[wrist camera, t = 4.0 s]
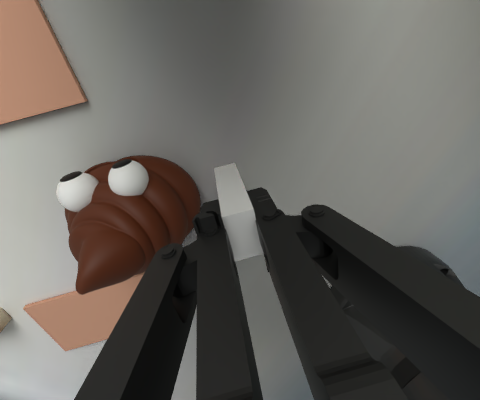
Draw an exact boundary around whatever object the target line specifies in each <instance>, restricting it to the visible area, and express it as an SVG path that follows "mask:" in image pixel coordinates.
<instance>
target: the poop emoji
mask: <svg viewBox="0 0 480 400" xmlns="http://www.w3.org/2000/svg"><path fill="white" fill-rule="evenodd" d="M56 194H57V198H58V201H59V202H60V204H61V205H62V206H63V207H64V208H65V216H66V220H67V223H68V230H69V234H70V236H69V247H70V250H71V252H72V254H73V256H74V257H75V259H76V260H77V261H78V274H77V279H76V291H77V292H78V293H79V294H81V295H84V294H86V293H89V292H92V291H95V290H98V289H101V288H105V287H108V286H111V285H115V284H118V283H121V282H123V281H126V280H128V279H130V278H131V277H133V276H134V275H138V274H141V273H143V272H145V271H146V269H147V267H148V266H149V264H150V262H151V260H152V258H153V257H154V255H155V254H156V252H157V251H158V250H159V249H161V248H162V247H164V246H166V245H168V244H172V243H178V244H180V245H181V244H182V243H183V241H184V239H185V237H186V236H187V235H188V234H189V233H190V231H191V230H192V229H193V227H194V225H193V223H192V220H193V218H194V217H195V216H196V215H197V214H198V213H200V207H201V200H200V194H199V191H198V188H197V186H196V184H195V182H194V181H193V179H192V178H191V177H190V175H189V174H188V173H187V172H186V171H185V170H184V169H182V168H181V167H180V166H178V165H176V164H175V163H173V162H171V161H168V160H166V159H163V158H159V157H154V156H130V157H125V158H122V159H120V160H117V161H115V162H106V163H101V164H98V165H95V166H93V167H91V168H89V169H88V170H86V171H85V172H80V171H78V172H73V173H70V174H68V175H66V176H64V177H63V178H61V180H60V182H59V184H58V186H57V191H56Z"/></svg>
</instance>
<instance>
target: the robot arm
mask: <svg viewBox="0 0 480 400" xmlns="http://www.w3.org/2000/svg"><path fill="white" fill-rule="evenodd" d="M214 173H215V179H216V185H217V192H218V198H219V199H217V200H214V201H210V202H206V203H204V204H203V205H202V207H201V208H200V213H198V214H197V215H196V216H195V217H194V218H193V220H192V223H193V225H194V228H195V231H196V233H197V240H196V241H194V242H193V243H191V244H190V245H188V246H186V247H184V248H183V247H182V245H180V244H178V243H172V244H168V245H166V246H164V247H162V248H161V249H159V250H158V251H157V252H156V254H155V255H154V257H153V258H152V260H151V262H150V264H149V266H148V267H147V269H146V271H145V273H144V275H143V276H142V278H141V280H140V282H139V284H138V285H137V287H136V289H135V291H134V293H133V294H132V296H131V298H130V300H129V302H128V303H127V305H126V307H125V309H124V311H123V312H122V314H121V316H120V318H119V320H118V321H117V323H116V325H115V327H114V329H113V330H112V332H111V334H110V336H109V338H108V339H107V341H106V343H105V345H104V347H103V348H102V350H101V352H100V354H99V356H98V357H97V359H96V361H95V363H94V365H93V367H92V368H91V370H90V372H89V374H88V376H87V377H86V379H85V381H84V383H83V385H82V386H81V388H80V390H79V392H78V394H77V395H76V397H75V399H74V400H171V397H172V393H173V390H174V386H175V382H176V379H177V375H178V371H179V368H180V364H181V360H182V357H183V353H184V349H185V346H186V342H187V338H188V335H189V331H190V327H191V324H192V320H193V316H194V313H195V309H196V305H197V380H196V400H263V397H262V392H261V387H260V382H259V377H258V372H257V367H256V362H255V357H254V352H253V347H252V342H251V337H250V332H249V327H248V322H247V317H246V312H245V307H244V301H243V296H242V291H241V286H240V281H239V276H238V271H237V267H236V264H235V262H236V261H240V260H243V259H247V258H251V257H254V256H258V255H262V254H263V252H264V257H265V261H266V266H267V270H268V272H270V275H271V278H272V281H273V284H274V287H275V289H276V292H277V295H278V298H279V301H280V304H281V306H282V309H283V312H284V315H285V318H286V321H287V324H288V326H289V329H290V332H291V335H292V338H293V341H294V343H295V346H296V349H297V352H298V355H299V358H300V360H301V363H302V366H303V369H304V372H305V375H306V378H307V380H308V383H309V386H310V389H311V392H312V395H313V397H314V400H480V297H479V296H477V295H475V294H474V293H472V292H470V291H469V290H467V289H465V287H464V286H463V285H462V283H461V282H460V280H459V279H458V278H457V276H456V275H455V273H454V272H453V271H452V269H451V268H450V267H449V266H448V265H446V264H445V263H444V262H443V261H441V260H440V259H439V258H437V257H436V256H435V255H433V254H432V253H431V252H429V251H427V250H425V249H422V248H418V247H411V246H404V247H395V246H393V245H391V244H390V243H388V242H386V241H385V240H383V239H381V238H380V237H378V236H376V235H375V234H373V233H371V232H370V231H368V230H366V229H364V228H363V227H361V226H359V225H358V224H356V223H354V222H353V221H351V220H349V219H348V218H346V217H344V216H343V215H341V214H339V213H338V212H336V211H334V210H333V209H331V208H329V207H327V206H325V205H318V204H317V205H311V206H307V207H306V208H304V209H303V210H302V212H301V214H302V215H298V216H289V215H285V214H284V212H283V211H281V210H279V209H277V207H276V206H275V204H274V202H273V200H272V199H271V197H270V195H269V194H268V192H267V190H265V189H263V188H261V187H260V188H257V189H253V190H249V191H246V189H245V186H244V184H243V181H242V179H241V177H240V174H239V172H238V169H237V167H236V164H235V163H232V164H228V165H224V166H220V167H216V168H214ZM322 275H323V276H324V277H325V278H326V279H327V280H328V281H329V282H330V283H331V284H332V285H333V286H332V288H331V289H330V288H329V287H328V285H327V284H326V282H325V280H324V279H323V277H322Z"/></svg>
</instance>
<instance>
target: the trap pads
mask: <svg viewBox="0 0 480 400" xmlns="http://www.w3.org/2000/svg"><path fill="white" fill-rule="evenodd" d="M86 101H88V100H87V98H86V96H85V94H84V92H83V90H82V88H81V86H80V84H79V82H78V80H77V78H76V76H75V74H74V72H73V70H72V68H71V66H70V64H69V62H68V60H67V58H66V56H65V54H64V52H63V50H62V48H61V46H60V44H59V42H58V40H57V38H56V36H55V34H54V32H53V30H52V28H51V26H50V24H49V22H48V20H47V18H46V16H45V14H44V12H43V10H42V8H41V6H40V4H39V2H38V0H0V124H4V123H8V122H12V121H15V120H19V119H23V118H26V117H30V116H34V115H38V114H41V113H45V112H49V111H53V110H56V109H60V108H64V107H68V106H71V105H75V104H79V103H83V102H86ZM144 273H145V272H143V273H141V274H138V275H134V276H133V277H131V278H130V279H128V280H126V281H123V282H121V283H118V284H115V285H111V286H108V287H105V288H101V289H98V290H95V291H92V292H89V293H86V294H84V295H81V294H79V293H78V292H77V291H74V292H70V293H67V294H63V295H60V296H56V297H53V298H49V299H46V300H42V301H39V302H35V303H32V304H28V305H25V307H24V308H23V309H24V310H25V311H26V312H27V313H28V314H29V315H30V316H31V317H32V318H33V319H34V320H35V321H36V322H37V323H38V324H39V325H40V326H41V327H42V328H43V329H44V330H45V331H46V332H47V333H48V334H49V335H50V336H51V337H52V338H53V339H54V340H55V341H56V342H57V343H58V344H59V345H60V346H61V347H62V348H63V349H64V350H65V351H68V350H71V349H75V348H78V347H81V346H85V345H88V344H92V343H95V342H99V341H102V340H106V339H108V338H109V336H110V334H111V332H112V330H113V329H114V327H115V325H116V323H117V321H118V320H119V318H120V316H121V314H122V312H123V311H124V309H125V307H126V305H127V303H128V302H129V300H130V298H131V296H132V294H133V293H134V291H135V289H136V287H137V285H138V284H139V282H140V280H141V278H142V276H143V275H144Z"/></svg>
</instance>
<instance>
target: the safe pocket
mask: <svg viewBox="0 0 480 400" xmlns="http://www.w3.org/2000/svg"><path fill="white" fill-rule="evenodd" d="M11 318H12V317H11V316H9V315H8V314H7V313H6V312H5V311H4V310H3V309H2V308H0V332H1V331H2V330H3V329H4V327H5V326H6V325H7V323H8V322H9V321H10V320H11Z"/></svg>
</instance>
